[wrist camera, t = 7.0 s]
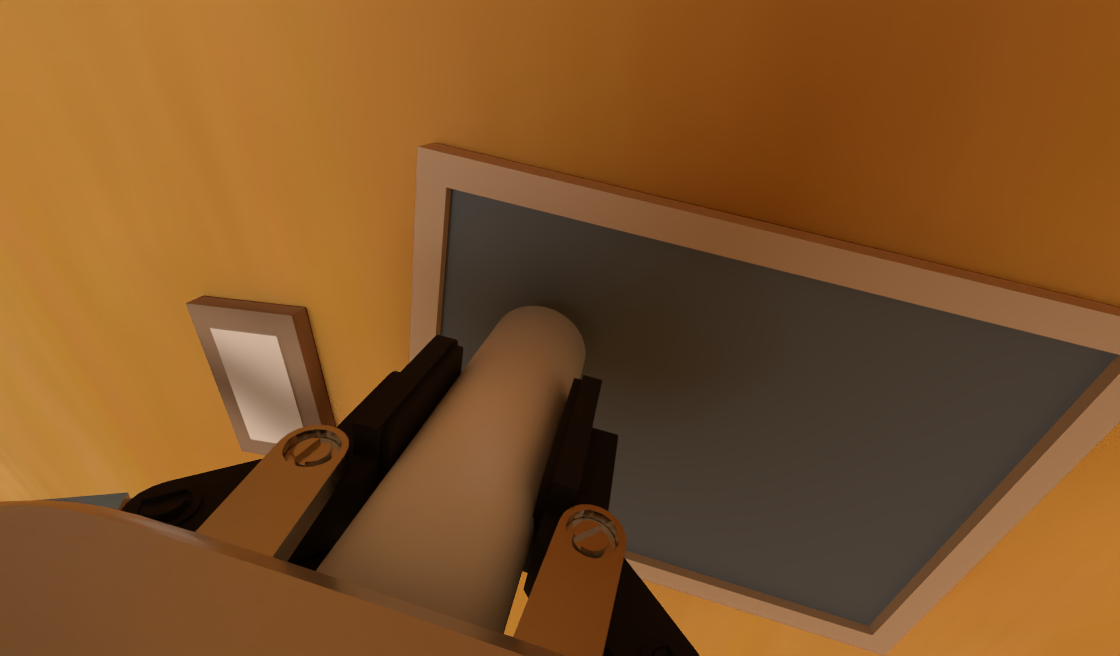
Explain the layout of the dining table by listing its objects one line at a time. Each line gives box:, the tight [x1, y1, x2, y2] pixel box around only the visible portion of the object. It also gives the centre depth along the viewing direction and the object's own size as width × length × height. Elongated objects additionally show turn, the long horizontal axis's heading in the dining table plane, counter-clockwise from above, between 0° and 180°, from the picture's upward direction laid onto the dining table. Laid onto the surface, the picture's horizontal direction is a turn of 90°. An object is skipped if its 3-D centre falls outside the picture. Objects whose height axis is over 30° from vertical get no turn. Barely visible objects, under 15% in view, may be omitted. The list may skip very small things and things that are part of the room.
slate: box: [409, 143, 1120, 656], centre depth 17 cm, size 16×22×1 cm
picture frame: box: [186, 296, 336, 455], centre depth 21 cm, size 8×5×1 cm, turn 179°
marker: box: [316, 306, 586, 634], centre depth 10 cm, size 3×3×12 cm
